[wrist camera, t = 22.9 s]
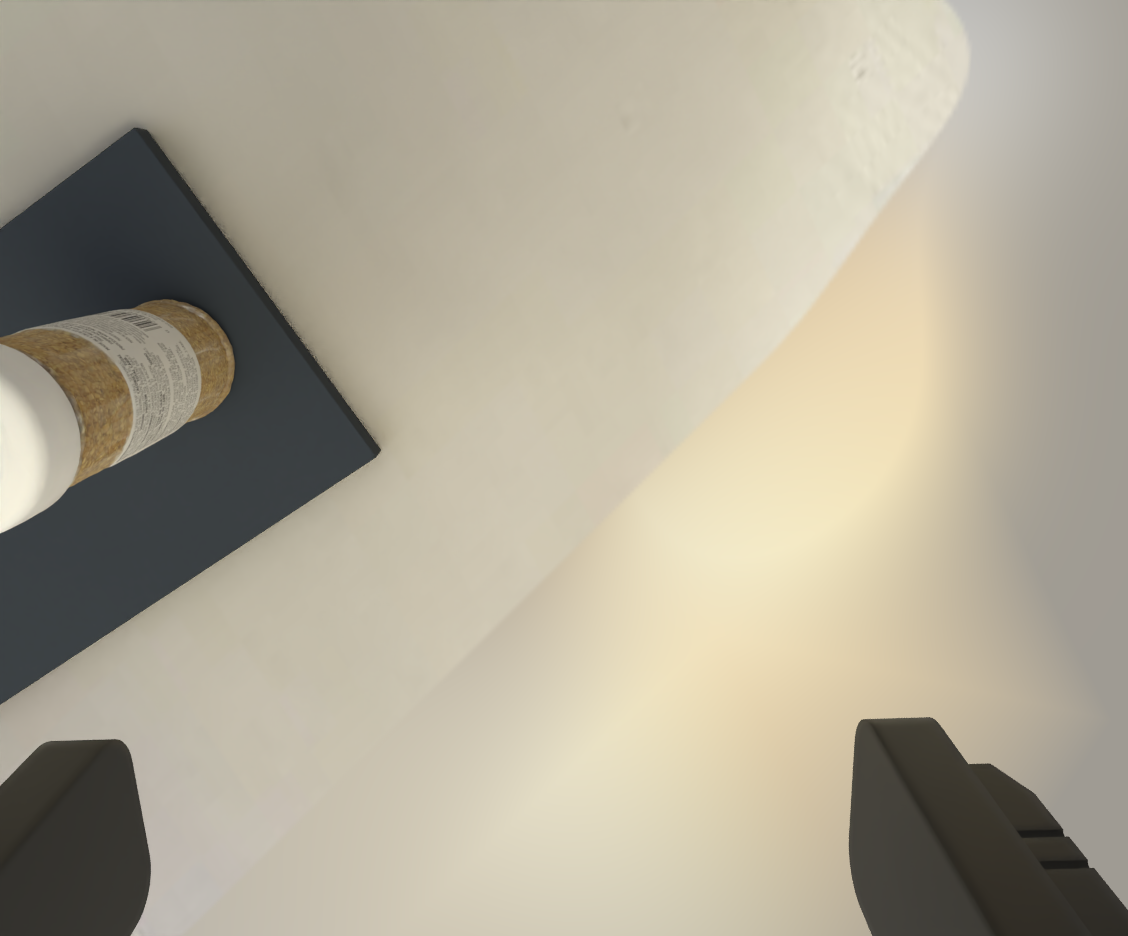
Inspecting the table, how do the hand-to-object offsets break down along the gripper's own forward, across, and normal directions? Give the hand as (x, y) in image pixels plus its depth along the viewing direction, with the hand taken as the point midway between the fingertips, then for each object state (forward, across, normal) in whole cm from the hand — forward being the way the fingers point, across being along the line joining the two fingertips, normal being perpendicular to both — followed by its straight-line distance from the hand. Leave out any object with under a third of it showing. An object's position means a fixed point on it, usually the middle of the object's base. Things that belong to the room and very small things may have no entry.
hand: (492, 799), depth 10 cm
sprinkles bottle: (+25, +13, -1) cm, 28 cm away
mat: (+26, +20, +3) cm, 33 cm away
